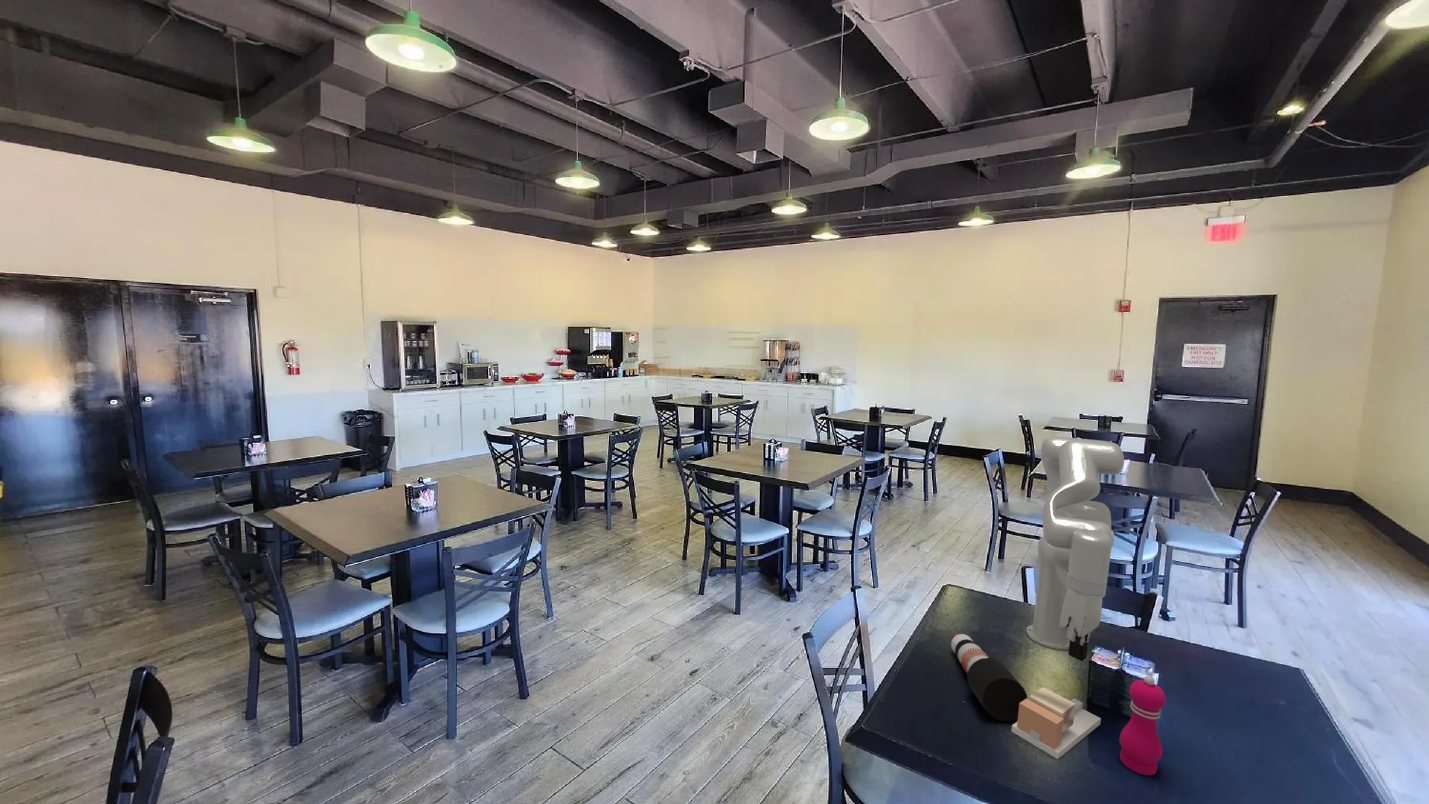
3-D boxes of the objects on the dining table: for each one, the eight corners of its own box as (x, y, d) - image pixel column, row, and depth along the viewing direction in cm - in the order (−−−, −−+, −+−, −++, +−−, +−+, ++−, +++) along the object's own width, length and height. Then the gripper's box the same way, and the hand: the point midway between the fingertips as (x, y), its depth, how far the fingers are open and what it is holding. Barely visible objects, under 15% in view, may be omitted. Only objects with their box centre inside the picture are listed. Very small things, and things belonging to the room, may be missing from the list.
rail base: (1055, 700, 142) (1058, 672, 141) (1100, 724, 133) (1103, 694, 132) (1011, 731, 130) (1014, 700, 129) (1057, 759, 122) (1061, 727, 121)
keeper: (1040, 706, 134) (1043, 687, 133) (1073, 724, 128) (1075, 703, 128) (1027, 716, 131) (1029, 696, 130) (1059, 734, 125) (1062, 713, 124)
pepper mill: (1108, 752, 125) (1119, 666, 122) (1139, 751, 125) (1151, 665, 123) (1135, 778, 117) (1148, 688, 115) (1168, 777, 118) (1181, 687, 115)
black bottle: (962, 660, 166) (980, 630, 165) (1013, 729, 133) (1035, 692, 132) (931, 642, 167) (949, 612, 166) (974, 706, 133) (996, 670, 132)
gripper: (1083, 569, 139) (1075, 639, 142) (1052, 586, 130) (1044, 659, 134) (1119, 582, 133) (1109, 654, 136) (1089, 600, 124) (1079, 677, 127)
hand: (1077, 657), depth 135 cm, fingers closed
